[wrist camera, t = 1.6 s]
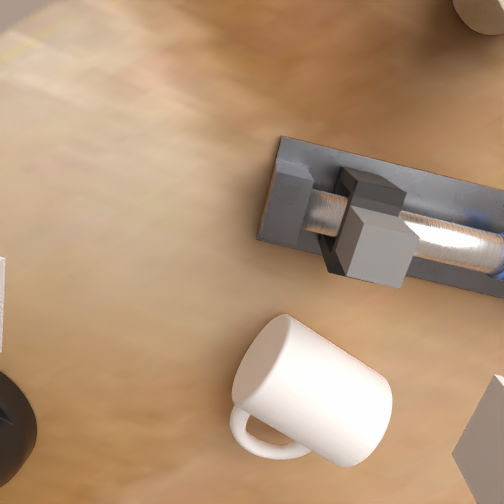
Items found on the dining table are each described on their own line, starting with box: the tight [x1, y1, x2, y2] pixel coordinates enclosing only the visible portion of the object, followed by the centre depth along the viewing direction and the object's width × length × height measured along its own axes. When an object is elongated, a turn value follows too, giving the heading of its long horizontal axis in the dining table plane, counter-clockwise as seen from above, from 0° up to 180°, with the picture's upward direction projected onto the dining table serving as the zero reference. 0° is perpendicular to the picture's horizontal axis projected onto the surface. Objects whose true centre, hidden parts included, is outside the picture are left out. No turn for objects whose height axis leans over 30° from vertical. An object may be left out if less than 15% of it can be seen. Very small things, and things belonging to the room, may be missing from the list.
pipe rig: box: [256, 136, 504, 298], centre depth 30 cm, size 24×8×6 cm, turn 77°
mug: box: [230, 314, 392, 467], centre depth 34 cm, size 12×10×8 cm
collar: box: [318, 166, 420, 289], centre depth 27 cm, size 3×6×10 cm, turn 167°
